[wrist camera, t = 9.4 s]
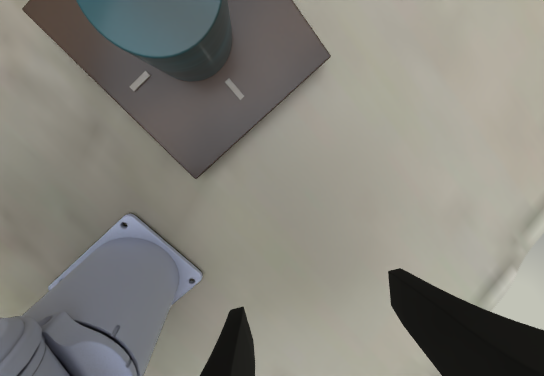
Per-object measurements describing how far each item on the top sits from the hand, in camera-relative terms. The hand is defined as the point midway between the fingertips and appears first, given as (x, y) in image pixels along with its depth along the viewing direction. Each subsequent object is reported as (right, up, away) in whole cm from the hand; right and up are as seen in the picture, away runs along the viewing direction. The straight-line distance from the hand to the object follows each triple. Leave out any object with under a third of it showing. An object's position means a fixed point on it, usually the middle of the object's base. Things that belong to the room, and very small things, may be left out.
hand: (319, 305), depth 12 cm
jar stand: (-7, +15, +5) cm, 18 cm away
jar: (-7, +15, +3) cm, 17 cm away
